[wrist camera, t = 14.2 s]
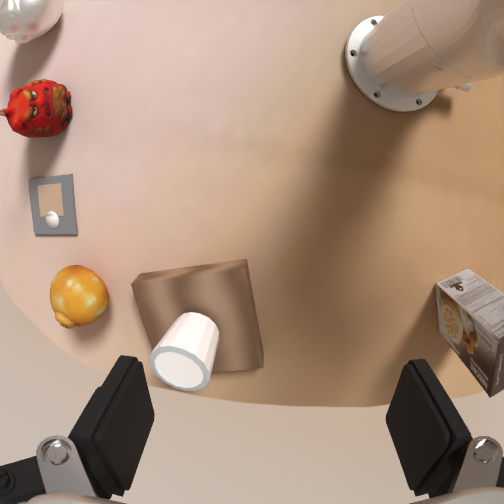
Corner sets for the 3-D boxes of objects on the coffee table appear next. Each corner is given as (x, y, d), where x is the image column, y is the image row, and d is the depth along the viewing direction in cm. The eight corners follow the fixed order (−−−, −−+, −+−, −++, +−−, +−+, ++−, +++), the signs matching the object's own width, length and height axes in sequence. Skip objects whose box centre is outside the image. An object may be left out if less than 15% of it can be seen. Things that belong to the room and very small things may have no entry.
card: (72, 174, 36) (70, 174, 35) (78, 233, 38) (76, 234, 38) (30, 179, 36) (28, 179, 36) (36, 233, 39) (34, 234, 38)
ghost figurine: (23, 17, 28) (-17, 2, 18) (71, -17, 27) (35, -42, 17) (28, 59, 31) (-17, 49, 21) (78, 25, 29) (37, 3, 20)
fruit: (100, 319, 43) (75, 349, 35) (61, 283, 41) (30, 307, 33) (127, 283, 40) (101, 311, 33) (83, 244, 39) (51, 264, 31)
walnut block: (246, 257, 39) (245, 269, 36) (263, 350, 44) (263, 368, 40) (141, 271, 41) (130, 284, 37) (169, 358, 45) (162, 374, 41)
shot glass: (173, 300, 36) (150, 337, 30) (230, 319, 36) (215, 360, 30) (168, 340, 39) (147, 378, 33) (218, 358, 39) (204, 399, 33)
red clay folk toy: (79, 126, 34) (-1, 126, 20) (41, 145, 35) (-38, 154, 21) (71, 75, 32) (-5, 56, 18) (33, 96, 32) (-44, 90, 18)
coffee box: (470, 317, 41) (526, 376, 25) (438, 333, 42) (488, 400, 26) (468, 266, 38) (537, 318, 23) (433, 282, 39) (497, 343, 24)
